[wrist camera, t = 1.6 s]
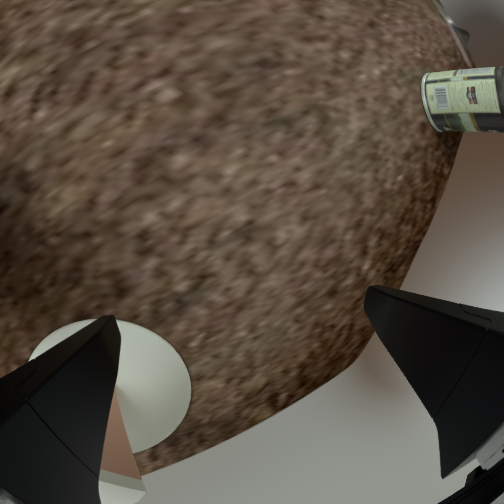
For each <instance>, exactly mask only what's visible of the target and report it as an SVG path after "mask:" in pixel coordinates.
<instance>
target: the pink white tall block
mask: <svg viewBox="0 0 504 504" xmlns="http://www.w3.org/2000/svg"><path fill="white" fill-rule="evenodd" d="M145 493H146V489H145V487H144V484H143V481H142V479H141V476H140V473H139V470H138V467H137V464H136V461H135V458H134V455H133V452H132V449H131V446H130V443H129V440H128V436H127V433H126V429H125V426H124V422H123V419H122V415H121V411H120V407H119V403H118V399H117V395H116V391H115V389H114V394H113V399H112V403H111V408H110V414H109V419H108V424H107V430H106V435H105V441H104V448H103V454H102V461H101V468H100V475H99V495H100V500H101V504H136V503H137V502H138V501H139V500H140V498H141V497H142V496H143V495H144V494H145Z"/></svg>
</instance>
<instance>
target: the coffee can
mask: <svg viewBox="0 0 504 504" xmlns="http://www.w3.org/2000/svg"><path fill="white" fill-rule="evenodd" d="M421 94H422V101H423V105H424V109H425V112H426V115H427V117H428V120H429V121H430V123H431V125H432V126H433V128H434V129H435V130H437V131H439V132H443V131H480V132H482V131H483V132H501V133H502V132H503V133H504V67H503V66H498V67H490V68H475V69H463V70H453V71H444V72H436V73H427V74H425V75H424V77H423V79H422V83H421Z"/></svg>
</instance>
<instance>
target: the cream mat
mask: <svg viewBox="0 0 504 504" xmlns="http://www.w3.org/2000/svg"><path fill="white" fill-rule="evenodd" d="M95 320H97V319H86V320H82V321H77V322H73V323H71V324H68V325H65V326H63V327H61V328H59V329H57V330H55V331H53V332H52V333H51V334H49V335H48V336H47V337H45V338H44V339H43V340H42V341H41V342H40V343H39V344H38V346H37V347H36V349H35V350H34V351H33V353H32V355H31V357H30V359H29V361H30V360H32V359H35V358H36V357H37V356H39V355H40V354H42V353H44V352H45V351H47V350H48V349H50V348H52V347H53V346H55V345H56V344H58V343H60V342H61V341H63V340H64V339H66V338H67V337H69V336H71V335H72V334H74V333H76V332H77V331H79V330H80V329H82V328H84V327H85V326H87V325H88V324H90V323H92V322H93V321H95ZM116 322H117V324H118V327H119V330H120V333H121V349H120V358H119V369H118V375H117V380H116V385H115V391H116V395H117V399H118V403H119V407H120V411H121V415H122V419H123V422H124V426H125V429H126V433H127V436H128V440H129V443H130V446H131V449H132V452H133V453H137V452H140V451H143V450H146V449H148V448H150V447H152V446H155V445H156V444H158V443H160V442H161V441H163V440H164V439H165V438H167V437H168V436H169V435H170V434H171V433H172V432H173V431H174V430H175V429H176V428H177V427H178V426H179V424H180V423H181V422H182V420H183V418H184V417H185V415H186V412H187V410H188V407H189V403H190V400H191V381H190V377H189V373H188V371H187V368H186V366H185V364H184V362H183V360H182V359H181V357H180V355H179V354H178V353H177V352H176V350H175V349H174V348H173V347H172V346H171V345H170V344H169V343H168V342H167V341H166V340H165V339H163V338H162V337H160V336H159V335H158V334H156V333H154V332H152V331H151V330H149V329H147V328H145V327H142V326H140V325H137V324H134V323H131V322H127V321H123V320H116ZM29 361H28V362H29Z"/></svg>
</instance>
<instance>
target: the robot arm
mask: <svg viewBox="0 0 504 504" xmlns="http://www.w3.org/2000/svg"><path fill="white" fill-rule="evenodd" d="M364 310H365V313H366V315H367V316H368V318H369V320H370V322H371V324H372V326H373V328H374V329H375V331H376V333H377V335H378V337H379V338H380V340H381V341H382V343H383V344H384V346H385V347H386V349H387V350H388V352H389V353H390V355H391V356H392V358H393V359H394V361H395V362H396V364H397V365H398V366H399V368H400V369H401V371H402V372H403V374H404V376H405V377H406V378H407V380H408V382H409V383H410V385H411V386H412V388H413V389H414V391H415V392H416V394H417V395H418V397H419V398H420V400H421V401H422V403H423V405H424V406H425V408H426V409H427V411H428V413H429V414H430V416H431V418H433V421H434V423H435V425H436V427H437V431H438V438H439V439H438V440H439V451H440V466H441V477H442V479H444V478H446V477H448V476H449V475H451V474H452V473H454V472H456V471H457V470H459V469H460V468H462V467H463V466H465V465H467V464H468V463H470V462H471V461H472V460H474V459H475V458H476V459H477V460H478V462H479V463H480V466H478V467H477V468H475V469H474V470H473V471H472V472H471V473H469V474H468V475H467V479H466V483H465V487H463V488H462V489H460V490H459V491H457V492H456V493H454V494H453V495H451V496H449V497H448V498H446V499H445V500H443V501H441V502H439V503H438V504H504V312H499V311H493V310H488V309H483V308H478V307H473V306H469V305H464V304H460V303H459V304H457V303H454V302H450V301H446V300H441V299H436V298H433V297H428V296H424V295H420V294H416V293H411V292H407V291H403V290H399V289H394V288H390V287H386V286H382V285H372V286H369V287H368V288H367V292H366V296H365V301H364ZM120 349H121V333H120V330H119V327H118V324H117V322H116V319H115V317H114V316H113V315H104V316H101V317H100V318H98V319H97V320H95V321H93V322H92V323H90V324H88V325H87V326H85V327H84V328H82V329H80V330H79V331H77V332H76V333H74V334H72V335H71V336H69V337H67V338H66V339H64V340H63V341H61V342H60V343H58V344H56V345H55V346H53V347H52V348H50V349H48V350H47V351H45V352H44V353H42V354H40V355H39V356H37V357H36V358H35V359H32V360H30V361H29V362H27V363H26V364H24V365H22V366H21V367H19V368H17V369H16V370H14V371H12V372H11V373H9V374H7V375H5V376H4V377H2V378H0V504H101V500H100V495H99V475H100V468H101V461H102V454H103V448H104V441H105V435H106V430H107V424H108V419H109V414H110V408H111V403H112V399H113V394H114V389H115V385H116V380H117V375H118V369H119V358H120Z"/></svg>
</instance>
